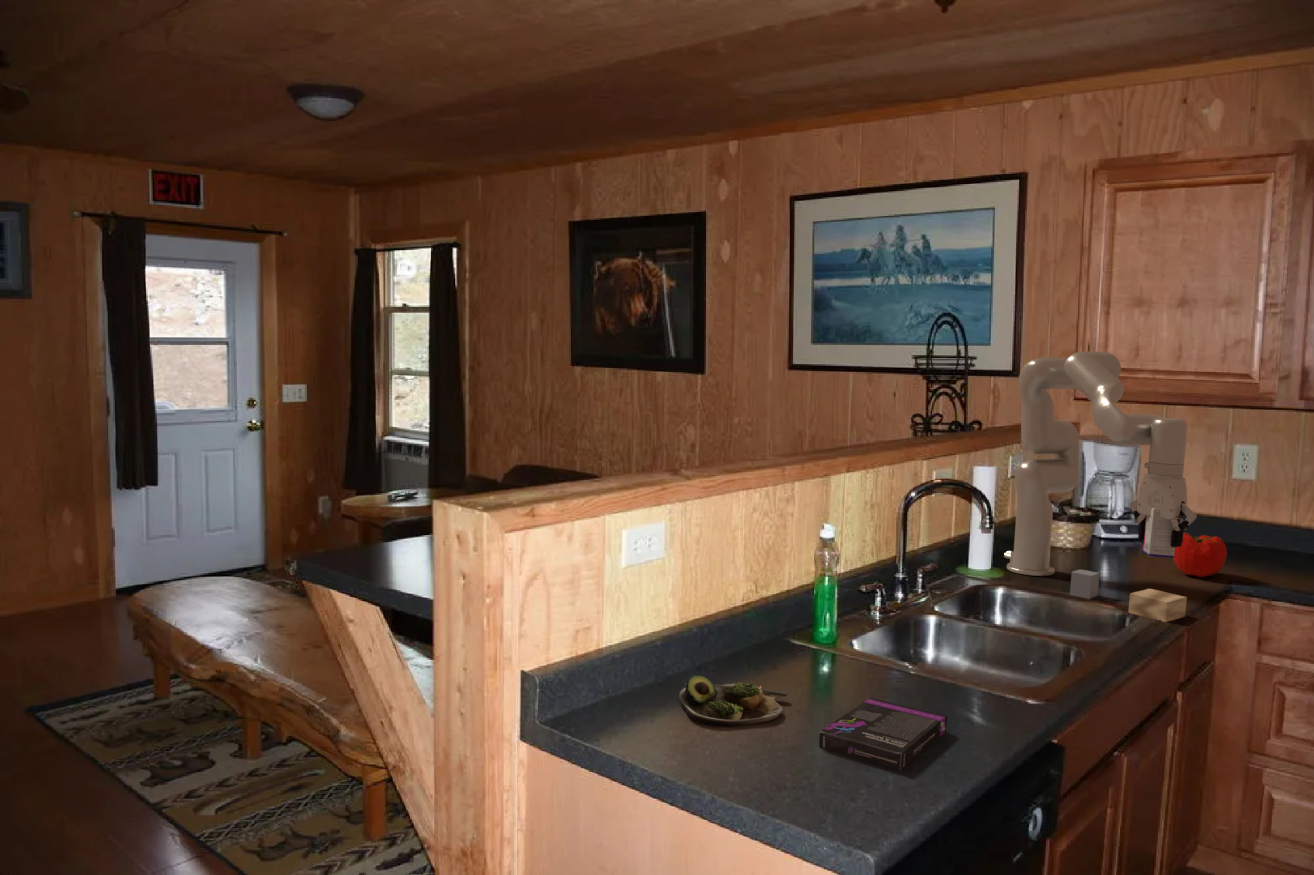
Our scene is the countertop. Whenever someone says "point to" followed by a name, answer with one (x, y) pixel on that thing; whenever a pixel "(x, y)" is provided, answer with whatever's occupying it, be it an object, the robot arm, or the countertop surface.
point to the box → (883, 733)
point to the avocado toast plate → (727, 702)
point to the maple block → (1157, 605)
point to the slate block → (1084, 584)
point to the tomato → (1200, 555)
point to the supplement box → (1158, 536)
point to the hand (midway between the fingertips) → (1159, 542)
